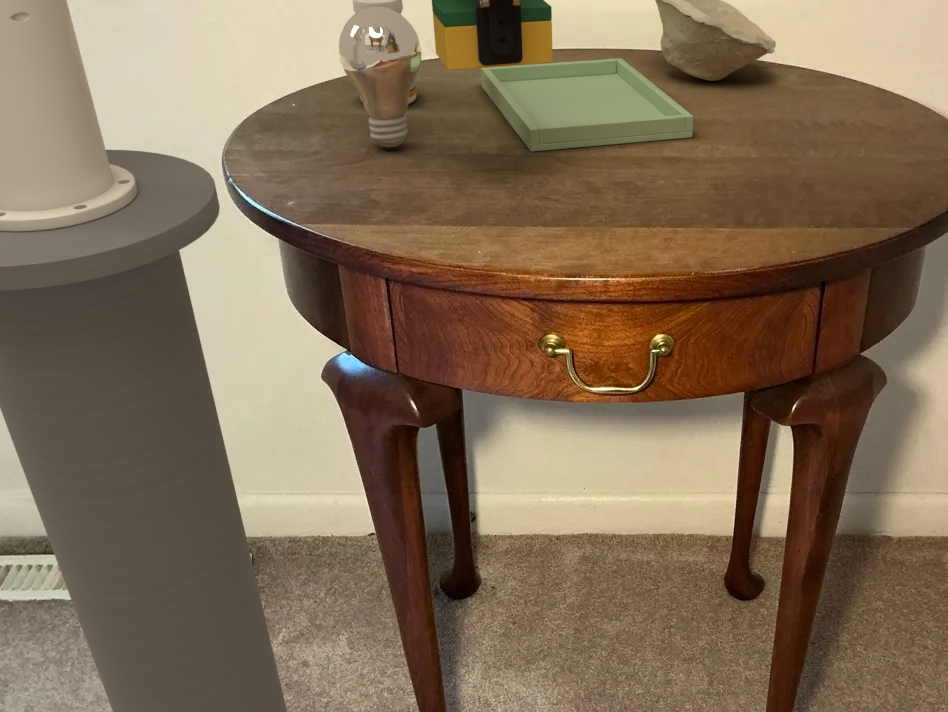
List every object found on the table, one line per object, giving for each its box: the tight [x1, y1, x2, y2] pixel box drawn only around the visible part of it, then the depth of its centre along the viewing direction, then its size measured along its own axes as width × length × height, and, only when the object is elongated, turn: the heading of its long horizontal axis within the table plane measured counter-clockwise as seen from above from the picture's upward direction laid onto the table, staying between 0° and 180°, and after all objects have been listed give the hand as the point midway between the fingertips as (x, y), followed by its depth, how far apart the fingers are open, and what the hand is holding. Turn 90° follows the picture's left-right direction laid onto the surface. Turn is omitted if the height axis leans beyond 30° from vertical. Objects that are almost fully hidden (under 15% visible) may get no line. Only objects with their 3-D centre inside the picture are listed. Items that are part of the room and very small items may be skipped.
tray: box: [480, 57, 694, 153], centre depth 105 cm, size 16×22×2 cm
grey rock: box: [654, 0, 777, 82], centre depth 113 cm, size 15×14×10 cm
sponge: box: [431, 0, 554, 71], centre depth 79 cm, size 8×5×4 cm, turn 107°
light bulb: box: [338, 7, 422, 151], centre depth 91 cm, size 7×7×12 cm
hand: (492, 51), depth 80 cm, fingers closed on sponge, 5 cm apart
